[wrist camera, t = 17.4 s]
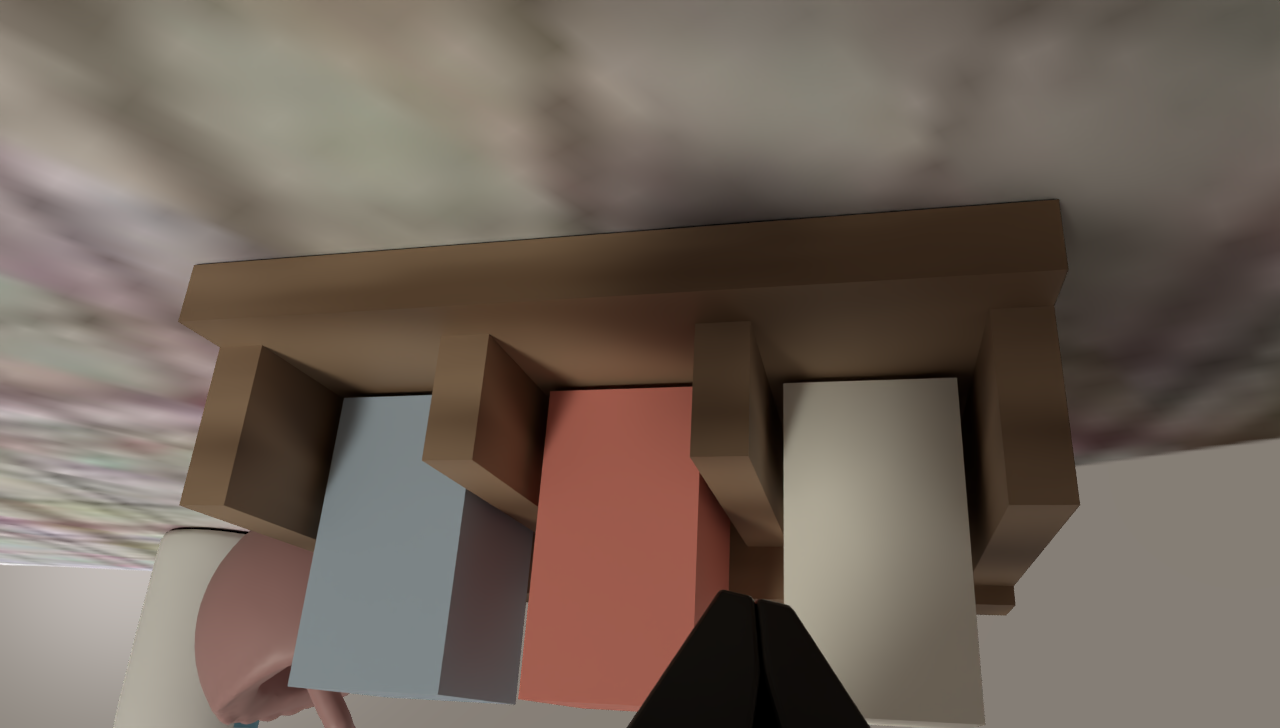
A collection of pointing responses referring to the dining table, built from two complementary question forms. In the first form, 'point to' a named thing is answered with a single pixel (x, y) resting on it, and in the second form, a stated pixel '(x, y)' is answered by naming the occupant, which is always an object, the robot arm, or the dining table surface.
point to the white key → (884, 545)
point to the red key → (618, 548)
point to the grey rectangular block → (409, 572)
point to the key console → (649, 362)
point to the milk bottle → (173, 636)
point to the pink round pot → (258, 636)
